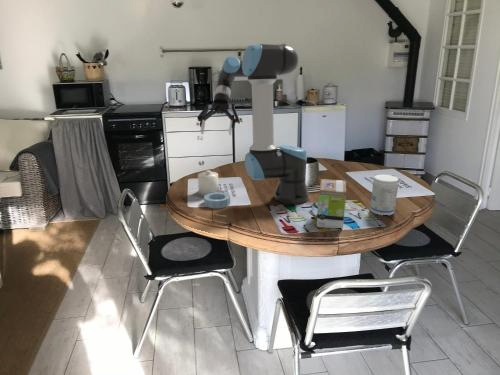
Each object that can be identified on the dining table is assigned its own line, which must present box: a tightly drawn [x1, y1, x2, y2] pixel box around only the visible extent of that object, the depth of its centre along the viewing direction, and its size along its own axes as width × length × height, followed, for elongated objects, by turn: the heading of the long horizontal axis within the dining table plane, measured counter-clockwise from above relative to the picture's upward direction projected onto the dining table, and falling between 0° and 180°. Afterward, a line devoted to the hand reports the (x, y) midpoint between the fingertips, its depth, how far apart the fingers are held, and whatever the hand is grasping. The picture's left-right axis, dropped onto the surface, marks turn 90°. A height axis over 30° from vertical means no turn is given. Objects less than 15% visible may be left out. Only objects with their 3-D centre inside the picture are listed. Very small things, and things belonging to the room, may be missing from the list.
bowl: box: [203, 192, 231, 209], centre depth 176 cm, size 11×11×4 cm
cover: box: [197, 169, 219, 196], centre depth 188 cm, size 9×9×11 cm
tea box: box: [316, 178, 347, 230], centre depth 158 cm, size 15×10×15 cm, turn 168°
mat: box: [190, 189, 227, 199], centre depth 189 cm, size 12×12×1 cm
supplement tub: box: [369, 174, 399, 216], centre depth 167 cm, size 10×10×15 cm
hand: (215, 133), depth 195 cm, fingers open, 13 cm apart
